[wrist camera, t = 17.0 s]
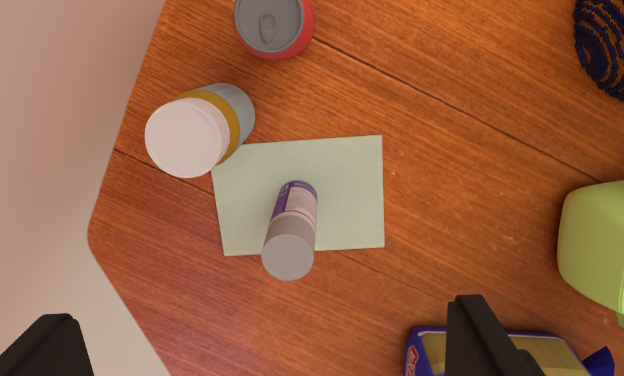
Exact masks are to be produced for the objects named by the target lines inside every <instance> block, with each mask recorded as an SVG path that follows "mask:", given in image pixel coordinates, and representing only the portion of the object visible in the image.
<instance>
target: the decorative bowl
mask: <svg viewBox="0 0 624 376" xmlns="http://www.w3.org/2000/svg"><path fill="white" fill-rule="evenodd" d="M583 1H589V0H577V2H578V3H576V4H575V5H576V8H577V9H576V10H574V11H575V13H574V14H573V17H574V20H575V22H576V24H575V25H574V28H575V31H576V33H574V37H575V40H576V42H577V43H576V44H574V45H575V48H576V51H577V54H578V57H579V59H580V62H581V65H582V68H584V67H585V68H586V71H587V74H588V75H590V76H591V77H592V80H593V81H596V83H597V86H598V88H599V89H602V90H603V89H605V92H606V93H609V96H613V97H616V98H619V100H620V101H623V102H624V90H622V91H620V92H618V90H620V89H622V88H623V87H624V74H623V76H622V78H621V82H618V83H617V85H616V86H614V87H613V88H611V87H610V85H612V84H613V83H615V80H616V78H617V76H618V74H617V71H618V69H619V66H618V63H617V60H616V56H617V54H616V51H615V48H614V46H612V45H611V42H610V39H609V36H608V33H606V32H605V30H607V29H608V28H607V26H605V27H603V28H602V26H601V25H599V23H597V21H594V17H595V16H594V14H592V13H591V12H594V11H595V14H597V15H598V16H600V18H601V19H603V21H605V22H606V24H608V26H609V29H612V32H613V34H615V35H616V38H617V42H616V43H615V46H616V49H617V52H618V55H619V58H620V59H622V58H623V60H624V54H623V51H622V48H621V45H620V41H622V38H621V34H620V31H619V30H617V28H616V25H615V24H613V22H610V18H609V17H607V15H606V14H605V15H603V14H602V11H601V10H599V8H598V7H596V8H593V6H592V5H591V6H589V5H588V3H587V4H583ZM622 2H623V5H624V0H622ZM591 3H593V4H594V5H597V4H600V3H602V4H603V5H604V6H602V9H605V12H606V11H607V12H608V14H610V16H611V19H614V22H617V25H618V27H620V28H621V31H622V34H623V35H624V16H623V13H620V10H619V7H618V8H617V7H616V5H614V4H613V3H611V1H610V0H591ZM585 7H586V8H587V10H591V12H588V13H586V10H583V11H581V10H582V9H581V8H585ZM580 11H581V12H580ZM585 13H586V14H585ZM583 20H584V21H585V23H589V25H591V26H592V27H594V30H596V31H597V32H599V35H600V37H602V38H603V41H604V42H606V45H607V48H608V51H609V54H610V57H611V60H612V63H613V64H612V67H610V68H611V72H610V73H611V74H609V75H610V76H608V77H609V78H608V79H607V80H605V82H600V79H601V80H602V79H604V76H605V75H607V71H606V70H607V68H608V65H609V62H608V59H607V56H606V53H605V50H604V47H603V44H602V42H600V40H599V37H597V36H596V35H594V32H593V30H589V28H585V26H580V25H579V24H578V23H580V21H583ZM582 45H584V48H586V49H587V50H589V53H590V56H591V60H590V64H588V61H587V58H586V55H585V53H584V50H583V47H582ZM623 66H624V65H623Z"/></svg>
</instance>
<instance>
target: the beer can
mask: <svg viewBox="0 0 624 376" xmlns="http://www.w3.org/2000/svg"><path fill="white" fill-rule="evenodd" d="M233 20H234V28H235V31H236V33H237V35H238V38H239V40H240V41H241V42H242V44H243V45H244V46H245V47H246V48H247V50H249V51H250V52H252V53H253V54H255V55H256V56H258V57H261V58H265V59H268V60H275V59H285V58H290V57H292V56H295V55H297V54H299V53H300V52H302V51H303V50H304V49H305V48H306V47H307V46H308V44H309V42H310V41H311V39H312V36H313V32H314V17H313V14H312V11H311V8H310V5H309V2H308V0H236V1H235V5H234V11H233Z"/></svg>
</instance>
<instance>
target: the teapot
mask: <svg viewBox="0 0 624 376" xmlns="http://www.w3.org/2000/svg"><path fill="white" fill-rule="evenodd" d="M557 264H558V268H559V272H560V275H561V276H562V278H563V279H564V280H565V281H566V282H567V283H568V284H569V285H570V286H572V287H573V288H574V289H576V290H577V291H579V292H580V293H582V294H583V295H585V296H586V297H588V298H590V299H591V300H593V301H595V302H597V303H599V304H601V305H604V306H606V307H608V308H610V309H612V310H614V311H616V315H617V319H618V323H619V325H620V326H622V327H623V328H624V180H621V181H613V182H607V183H601V184H595V185H590V186H586V187H582V188H579V189H576V190H574V191H572V192H570V193H569V194H568V195H567V196H566V199H565V201H564V205H563V209H562V215H561V220H560V227H559V234H558V246H557Z"/></svg>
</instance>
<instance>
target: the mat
mask: <svg viewBox="0 0 624 376" xmlns="http://www.w3.org/2000/svg"><path fill="white" fill-rule="evenodd" d="M211 175H212V181H213V187H214V194H215V200H216V206H217V213H218V219H219V225H220V232H221V238H222V244H223V251H224V256H236V255H253V254H262V249H263V245H264V241H265V237H266V234H267V230H268V226H269V223H270V219H271V216H272V213H273V210H274V207H275V204H276V201H277V198H278V195H279V192H280V190H281V188H282V187H283V186H284V185H285V184H286V183H287V182H289V181H292V180H303V181H306V182H308V183H309V184H311V185H312V186H313V187H314V189H315V190H316V193H317V224H316V240H315V249H314V251H325V250H342V249H360V248H378V247H384V208H383V167H382V135H381V134H380V135H366V136H351V137H337V138H323V139H309V140H294V141H280V142H266V143H251V144H241V145H240V146H239V147H238V149H237V150H236V151H235V152H234V153H233V154H232V155H231V156H230V157H229V158H228V159H227V160H225V161H224V162H223V163H221V164H219V165H217V166H214V167H213V168H212V169H211Z"/></svg>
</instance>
